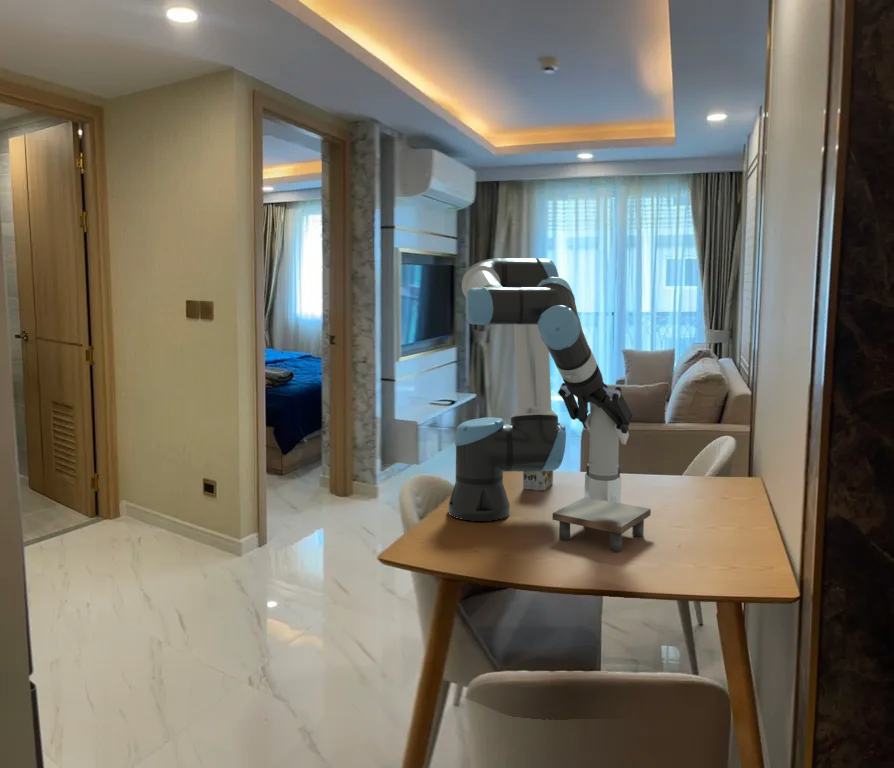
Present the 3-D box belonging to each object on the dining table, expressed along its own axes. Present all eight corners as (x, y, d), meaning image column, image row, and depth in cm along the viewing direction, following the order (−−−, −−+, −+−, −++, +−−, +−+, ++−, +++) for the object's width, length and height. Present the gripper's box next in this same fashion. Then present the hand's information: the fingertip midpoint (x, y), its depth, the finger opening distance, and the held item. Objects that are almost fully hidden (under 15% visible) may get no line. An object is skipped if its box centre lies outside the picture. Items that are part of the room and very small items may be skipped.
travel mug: (582, 478, 158) (584, 387, 156) (598, 472, 163) (600, 385, 161) (607, 482, 154) (610, 390, 152) (623, 477, 159) (625, 387, 156)
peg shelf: (552, 539, 159) (552, 513, 158) (584, 521, 171) (585, 497, 170) (620, 554, 149) (621, 526, 148) (649, 534, 162) (650, 508, 161)
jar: (601, 519, 173) (602, 470, 171) (577, 511, 180) (578, 464, 178) (627, 513, 178) (628, 465, 176) (603, 505, 185) (604, 459, 183)
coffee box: (544, 491, 198) (545, 434, 196) (522, 489, 200) (523, 432, 198) (553, 483, 206) (554, 428, 204) (531, 481, 209) (532, 427, 207)
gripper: (531, 381, 149) (566, 446, 164) (618, 388, 138) (647, 457, 153) (544, 354, 153) (577, 420, 168) (630, 358, 141) (657, 428, 156)
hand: (610, 437), depth 160 cm, fingers closed on travel mug, 6 cm apart
